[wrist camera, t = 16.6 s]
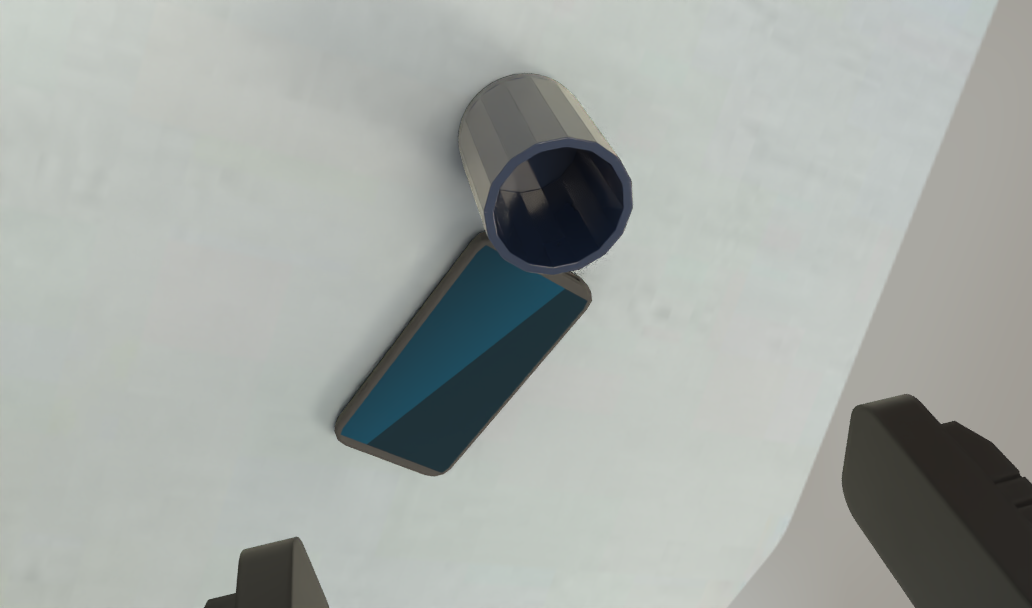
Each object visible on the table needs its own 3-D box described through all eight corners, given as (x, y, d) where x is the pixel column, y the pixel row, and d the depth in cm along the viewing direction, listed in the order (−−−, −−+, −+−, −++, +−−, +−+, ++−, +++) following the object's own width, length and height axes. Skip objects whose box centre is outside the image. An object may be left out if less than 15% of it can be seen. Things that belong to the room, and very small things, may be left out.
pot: (578, 61, 38) (629, 124, 32) (588, 180, 41) (635, 257, 35) (447, 86, 37) (474, 155, 31) (469, 204, 41) (496, 288, 34)
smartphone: (596, 286, 45) (601, 295, 44) (439, 471, 50) (441, 483, 49) (482, 221, 41) (485, 231, 40) (326, 428, 46) (326, 440, 46)
